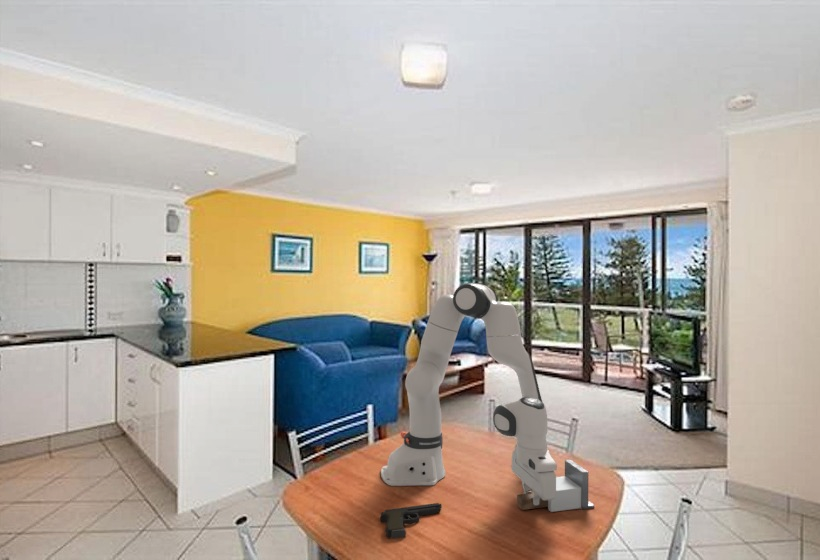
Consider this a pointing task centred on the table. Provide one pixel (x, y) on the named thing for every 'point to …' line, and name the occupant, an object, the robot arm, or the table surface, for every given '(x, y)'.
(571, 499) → the tunnel block
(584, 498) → the wall
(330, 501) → the table surface
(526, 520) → the table surface
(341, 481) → the table surface
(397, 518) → the handgun
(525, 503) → the walnut bar
